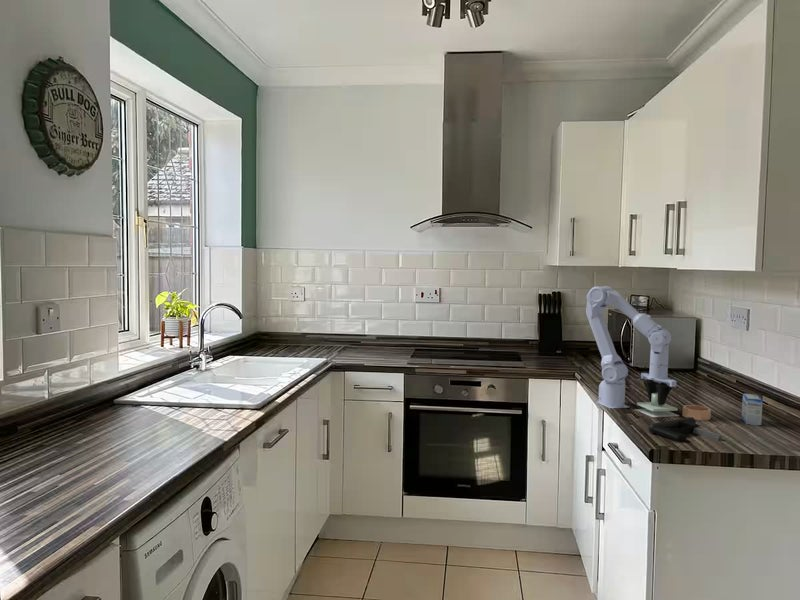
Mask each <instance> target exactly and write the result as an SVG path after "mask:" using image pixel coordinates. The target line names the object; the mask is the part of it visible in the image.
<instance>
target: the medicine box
mask: <svg viewBox="0 0 800 600" xmlns="http://www.w3.org/2000/svg"><path fill="white" fill-rule="evenodd" d="M741 403H742V404H741V420H742V421H743V422H744V423H745V425H748V424H750V426H757V425H761V426H762V416H763V399H762V398H761V397H760V396H758V394H754V393H752V394H751V393H743V394H742V401H741Z"/></svg>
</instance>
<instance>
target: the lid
mask: <svg viewBox="0 0 800 600" xmlns="http://www.w3.org/2000/svg"><path fill="white" fill-rule="evenodd" d="M636 405H637V406H639V407H641V408H643V409H648V410H651V411H669V412H672V411H674V412H675V411H678V407H675V406H672V405H670V404H667V403H665V404H664V405H658V393H652V398H651V402H650V401H642V402H638V401H637V402H636Z"/></svg>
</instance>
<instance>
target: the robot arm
mask: <svg viewBox="0 0 800 600" xmlns="http://www.w3.org/2000/svg"><path fill="white" fill-rule="evenodd" d="M585 297H586V300H587V302H586V305H585V306H586V308H585V315H586V317H587V321H588V323H589V325H590V328H591V331H592V334H593V336H594V339H595V342H596V345H597V348H598V351H599V353H600V357H601V361H600V366H601V377H602V378H603V380H602V381H601V382H600V383H599V385H598V401H596V403H597V404H600V405H602V406H604V407H606V408H608V409H622V408H623V409H624V408H625V409H626V408H630V406H628V405H627V404H626V403H625V401H626V396H625V395H626V380H625V378H627V377H628V374H629V369H628V367H627V365H626V364H625V363H624V362H623V360H622V357H620V355H619V354H618V353H617V351H616V348H615V345H614V342H613V340H612V337H611V335H610V332H609V330H608V326H607V323H606V321H605V318H604V315H603V312H604V311H605V309H606V307H607V306H613V307H616V308H617V309H618V310H619V312H622V313H623V314H624V315H625V316H627V317H628V318H629V319H630V320H631V321H632V326H633V327H634V328H635V329H636V330H638V332H640V333H641V334H642V335H643V336H644V337H645V338H647V340H648V342H649V344H650V355H649V371H648V372H649V373H647V372H641V373H640V379H643V380H644V381H643V382H642V384H643V385H644V388H645V389H646V392H647V396H648V402H651V398H652V393H658V405H664V404H666V401H667V398H668V396H669V394H670V392H671V390H672V389H673V388H674V387H675V388H676V387H677V380H675V379H672V378H670V377H668V371H669V370H668V369H669V352H670V351H669V347H670V345H669V344H670V343H671V341H672V334H671V333H670V331H669V330H668V329H666V328H663V326H662V325H661V324H658V323H656V322H655V321H654V320H653V319H652V316H651V314H646V313H640V312H638V310H636V309H635V307H634V306H632V304H630V303H629V302H628V301H627V300H626V299H625V298H624V297H623V296H622V295H621V294H620V293H619V292H618V291H617V290H615V289H613V288H612V287H611V286H609V285H604V286H593V287H591V288H590V290H589V291H588V293H587V294H586V296H585Z"/></svg>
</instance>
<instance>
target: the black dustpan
mask: <svg viewBox="0 0 800 600" xmlns="http://www.w3.org/2000/svg"><path fill="white" fill-rule="evenodd" d="M696 421H697V420H695V419H694V418H693V417H682V418H676V419H670V420H666V421H661V422H655V423H651V424H649V425H648V431H649V432H650V433H651V434H653V433H656V434H655V435H660V436H662V437H663V438H666V437H667V439H669V438H670V440H672V439H673V440H672V441H675V442H677V441H679V442H678V443H683V442H686V440H687V435H691V434H692V433H693V434H695V435H698V436H701V437H703V438H707V437H708V439H710V440H711V439H712V440H714V441H722V437H723V436H722V435H721V434H720V433H716V432H712V431H710V430H707V429H703V428H701V427H699V424H697V422H696Z"/></svg>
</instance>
